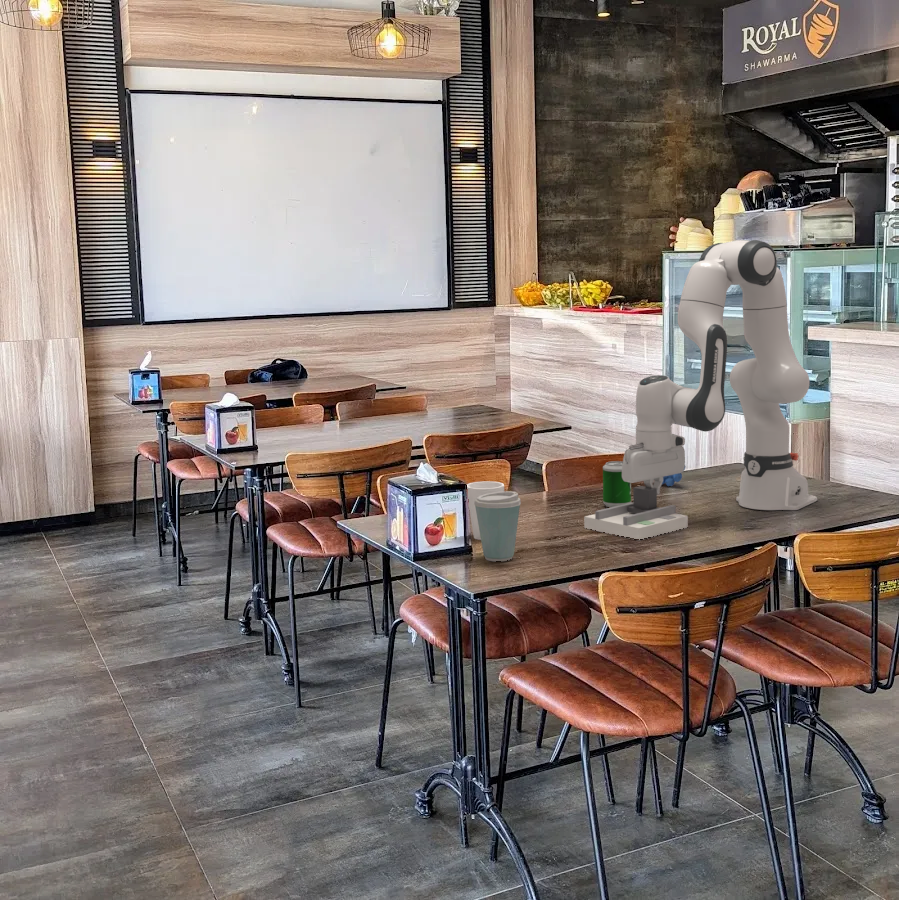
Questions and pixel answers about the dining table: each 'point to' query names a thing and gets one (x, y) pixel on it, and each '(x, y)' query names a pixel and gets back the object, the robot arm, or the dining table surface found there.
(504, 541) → the disposable coffee cup
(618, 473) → the soda can
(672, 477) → the grapes
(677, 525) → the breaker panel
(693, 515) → the dining table surface
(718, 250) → the robot arm
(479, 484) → the foam cup
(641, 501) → the handle
